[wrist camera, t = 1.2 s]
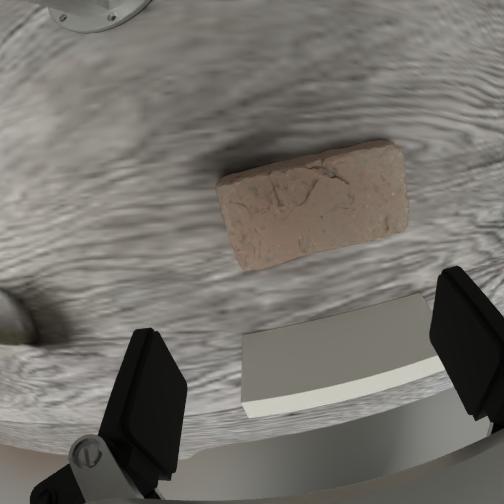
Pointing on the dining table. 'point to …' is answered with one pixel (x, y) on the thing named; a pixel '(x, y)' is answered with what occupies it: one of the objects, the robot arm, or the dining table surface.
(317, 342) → the grey bookend
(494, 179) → the dining table surface
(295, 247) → the brick
